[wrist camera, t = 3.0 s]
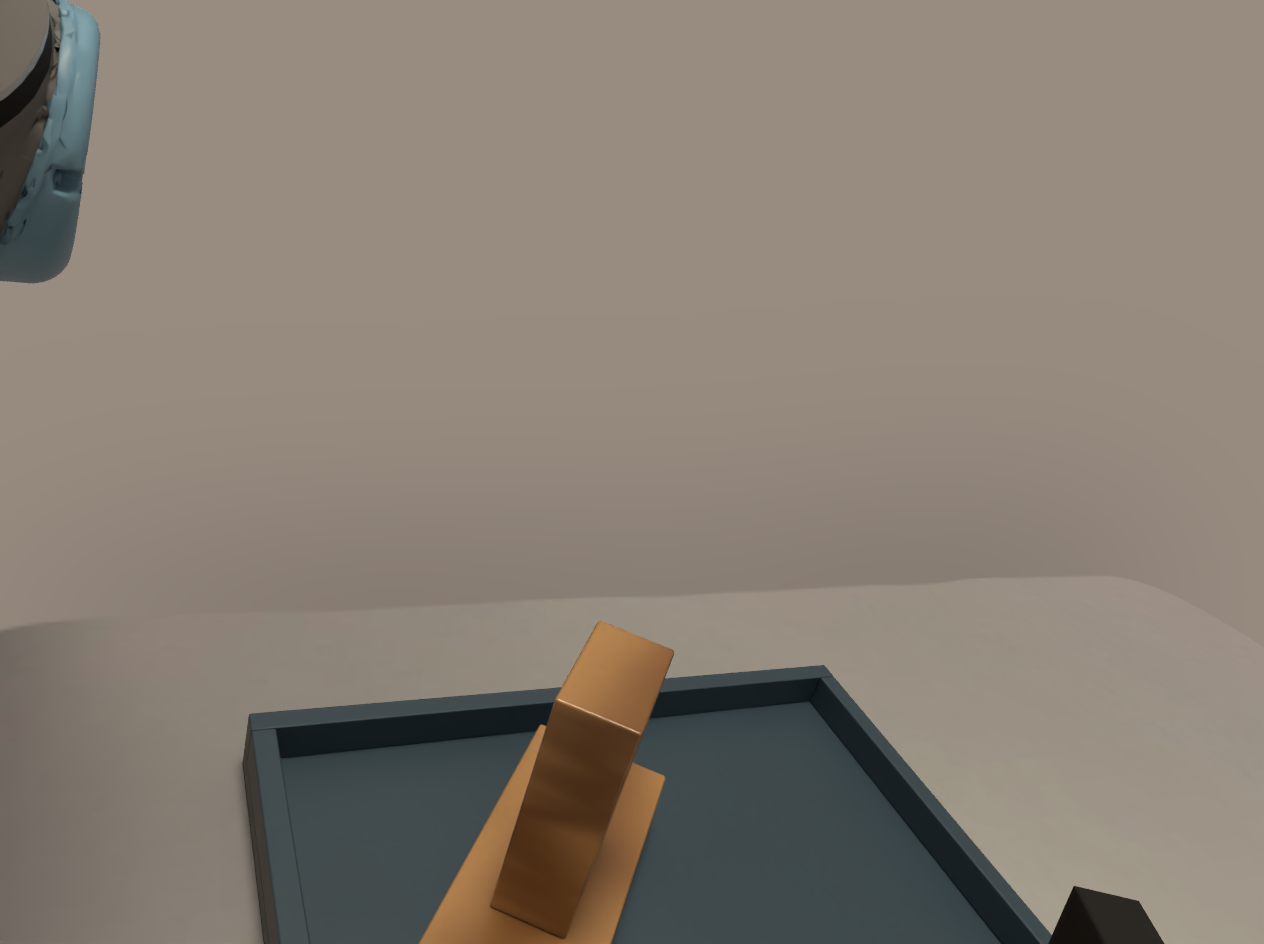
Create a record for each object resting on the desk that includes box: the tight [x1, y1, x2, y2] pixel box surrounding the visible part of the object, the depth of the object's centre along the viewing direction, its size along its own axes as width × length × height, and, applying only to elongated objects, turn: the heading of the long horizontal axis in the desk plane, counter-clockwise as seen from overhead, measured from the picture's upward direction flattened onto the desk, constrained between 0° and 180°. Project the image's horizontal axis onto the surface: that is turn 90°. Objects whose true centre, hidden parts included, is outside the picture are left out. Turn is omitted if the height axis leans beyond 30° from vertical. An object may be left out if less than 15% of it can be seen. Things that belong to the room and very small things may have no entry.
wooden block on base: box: [418, 621, 674, 944], centre depth 28 cm, size 5×12×10 cm, turn 165°
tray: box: [243, 665, 1052, 944], centre depth 32 cm, size 18×26×2 cm
